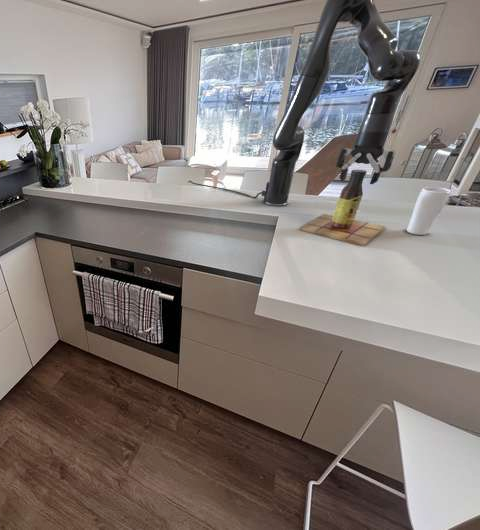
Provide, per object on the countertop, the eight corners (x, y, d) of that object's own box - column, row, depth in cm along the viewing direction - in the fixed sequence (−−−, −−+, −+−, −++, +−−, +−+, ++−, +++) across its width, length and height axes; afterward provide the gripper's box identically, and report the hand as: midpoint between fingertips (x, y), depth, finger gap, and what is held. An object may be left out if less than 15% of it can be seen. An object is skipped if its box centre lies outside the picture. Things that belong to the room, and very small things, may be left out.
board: (299, 229, 108) (300, 226, 107) (323, 216, 118) (324, 213, 117) (363, 246, 94) (364, 242, 93) (384, 228, 104) (385, 225, 103)
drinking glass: (426, 230, 100) (447, 187, 93) (432, 237, 95) (455, 193, 88) (401, 227, 103) (419, 186, 96) (405, 234, 98) (425, 191, 91)
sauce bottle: (347, 230, 102) (366, 173, 92) (327, 226, 106) (344, 171, 96) (354, 225, 105) (374, 170, 95) (335, 221, 109) (352, 167, 100)
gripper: (407, 128, 86) (387, 183, 94) (352, 128, 96) (337, 177, 104) (400, 131, 82) (379, 187, 90) (342, 130, 93) (328, 181, 101)
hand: (356, 182), depth 97 cm, fingers open, 8 cm apart
